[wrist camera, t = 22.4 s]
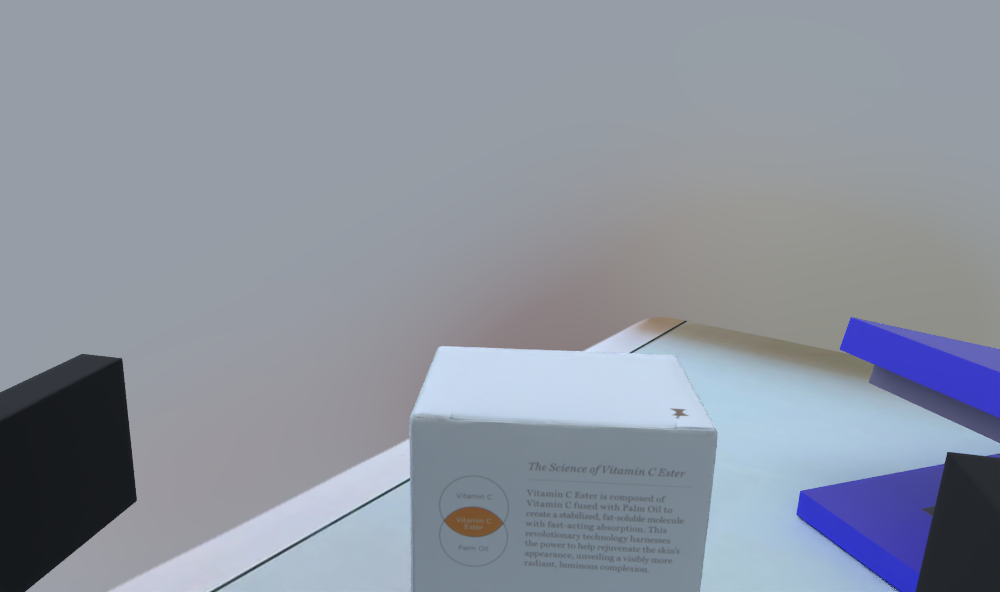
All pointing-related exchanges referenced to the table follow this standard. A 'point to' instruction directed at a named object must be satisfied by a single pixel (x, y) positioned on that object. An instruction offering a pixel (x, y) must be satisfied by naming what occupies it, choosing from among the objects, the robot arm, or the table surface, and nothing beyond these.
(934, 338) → the stapler
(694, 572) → the small box
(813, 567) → the table surface
